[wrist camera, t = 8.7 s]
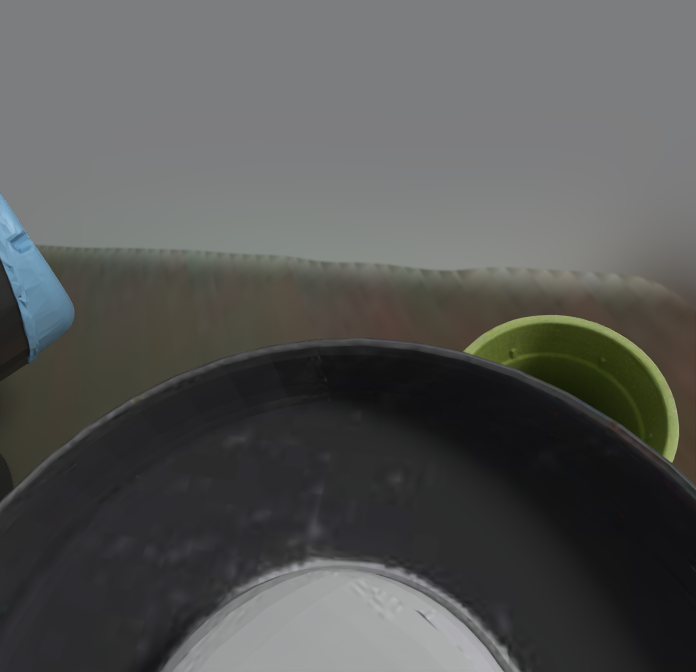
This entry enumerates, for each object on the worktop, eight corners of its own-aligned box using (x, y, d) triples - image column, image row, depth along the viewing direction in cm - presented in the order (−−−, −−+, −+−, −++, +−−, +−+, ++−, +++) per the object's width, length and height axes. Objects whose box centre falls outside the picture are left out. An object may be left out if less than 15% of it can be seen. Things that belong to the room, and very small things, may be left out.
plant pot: (475, 380, 47) (477, 293, 38) (644, 427, 43) (695, 344, 34) (423, 531, 42) (410, 475, 32) (610, 600, 38) (657, 560, 29)
